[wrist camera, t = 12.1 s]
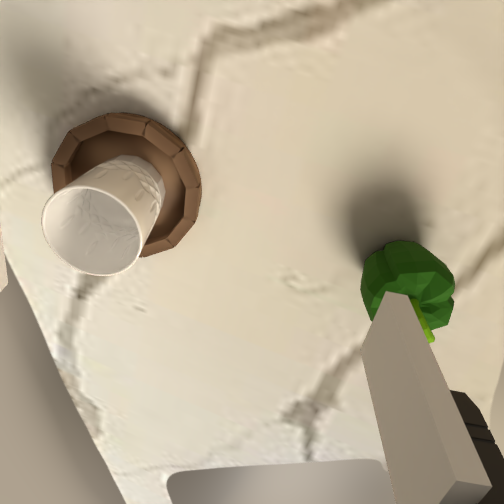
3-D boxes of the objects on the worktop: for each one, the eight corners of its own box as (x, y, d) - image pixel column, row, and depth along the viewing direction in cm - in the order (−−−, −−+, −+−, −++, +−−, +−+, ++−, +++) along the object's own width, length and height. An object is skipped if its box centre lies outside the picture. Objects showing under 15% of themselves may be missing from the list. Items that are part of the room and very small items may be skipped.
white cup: (81, 199, 42) (29, 247, 33) (109, 131, 38) (58, 165, 30) (152, 236, 44) (120, 291, 35) (185, 175, 40) (158, 219, 31)
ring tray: (57, 100, 38) (45, 105, 36) (208, 126, 38) (204, 132, 37) (67, 234, 45) (57, 244, 43) (195, 255, 45) (191, 266, 44)
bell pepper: (351, 233, 43) (369, 288, 34) (434, 223, 42) (474, 277, 33) (355, 299, 47) (372, 363, 38) (431, 291, 46) (466, 355, 37)
